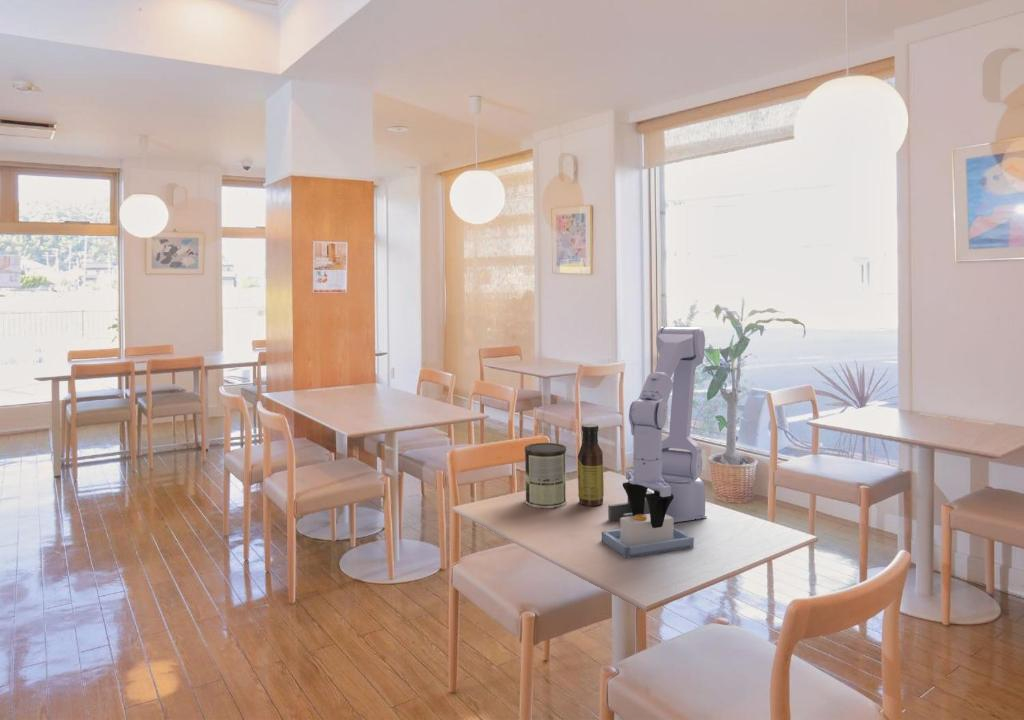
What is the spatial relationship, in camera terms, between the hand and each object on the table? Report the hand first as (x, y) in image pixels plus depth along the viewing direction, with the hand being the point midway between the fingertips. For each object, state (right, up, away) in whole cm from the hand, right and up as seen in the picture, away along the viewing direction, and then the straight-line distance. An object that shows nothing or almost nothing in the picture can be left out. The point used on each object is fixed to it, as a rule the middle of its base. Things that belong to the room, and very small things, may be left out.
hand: (647, 521), depth 150 cm
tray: (0, -5, 0) cm, 5 cm away
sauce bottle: (-9, -2, +29) cm, 30 cm away
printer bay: (0, -3, +14) cm, 14 cm away
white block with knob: (0, -4, 0) cm, 4 cm away
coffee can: (-20, -2, +30) cm, 36 cm away
